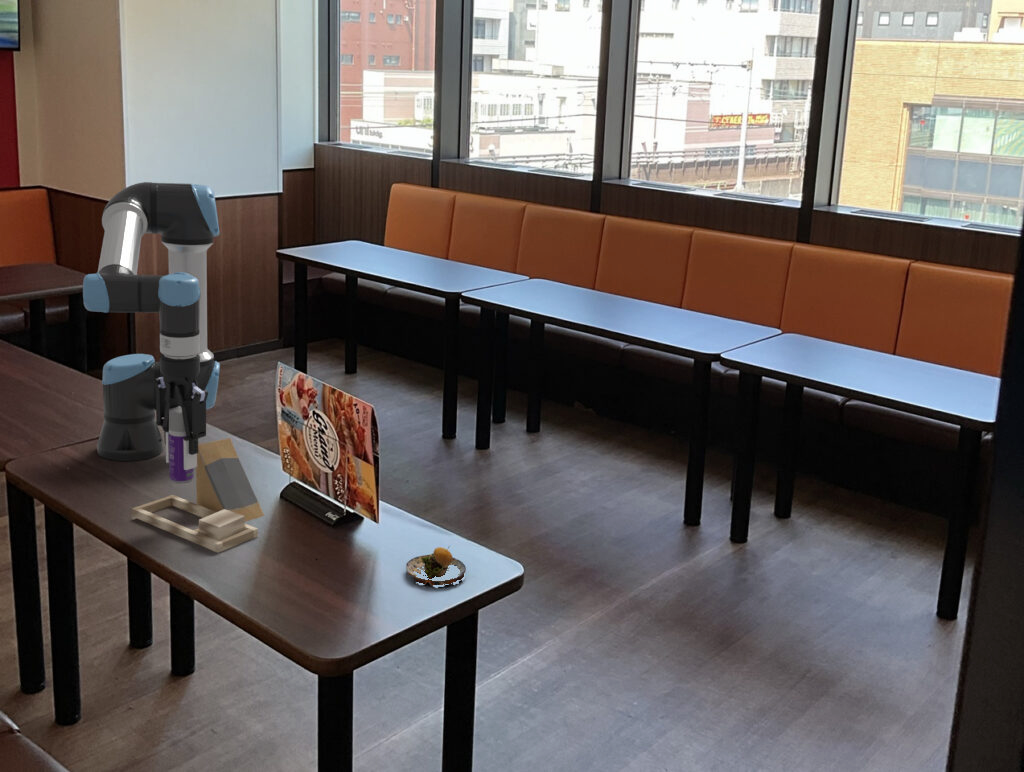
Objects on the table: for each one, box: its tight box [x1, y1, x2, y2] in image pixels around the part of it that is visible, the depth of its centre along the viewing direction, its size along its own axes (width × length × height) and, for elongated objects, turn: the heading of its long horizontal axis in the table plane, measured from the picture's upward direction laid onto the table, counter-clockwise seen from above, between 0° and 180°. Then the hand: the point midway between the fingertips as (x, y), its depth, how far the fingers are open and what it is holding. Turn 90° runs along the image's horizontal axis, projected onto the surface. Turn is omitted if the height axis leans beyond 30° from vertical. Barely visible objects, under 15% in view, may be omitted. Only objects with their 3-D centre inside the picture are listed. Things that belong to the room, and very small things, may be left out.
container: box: [168, 406, 195, 485], centre depth 218 cm, size 5×5×15 cm
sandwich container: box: [195, 437, 265, 522], centre depth 227 cm, size 9×15×15 cm, turn 46°
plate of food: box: [406, 546, 467, 587], centre depth 209 cm, size 12×12×8 cm
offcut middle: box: [199, 525, 245, 541], centre depth 215 cm, size 6×7×2 cm
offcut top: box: [198, 509, 246, 537], centre depth 214 cm, size 6×7×2 cm
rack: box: [131, 494, 259, 554], centre depth 220 cm, size 26×10×3 cm, turn 56°
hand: (181, 464), depth 219 cm, fingers closed on container, 5 cm apart
